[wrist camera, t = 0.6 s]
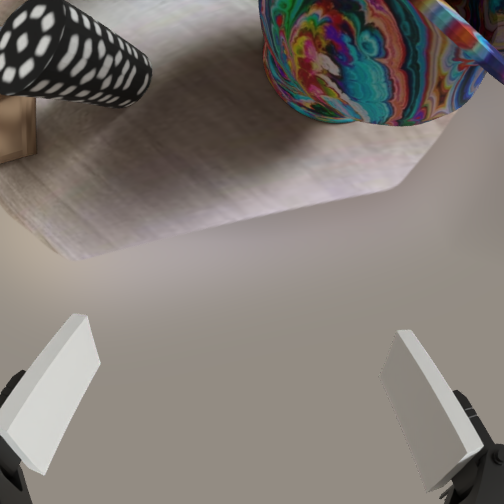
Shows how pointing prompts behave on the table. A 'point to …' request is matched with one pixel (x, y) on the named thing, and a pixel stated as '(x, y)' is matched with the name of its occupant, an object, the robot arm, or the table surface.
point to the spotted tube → (69, 57)
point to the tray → (17, 127)
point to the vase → (381, 56)
